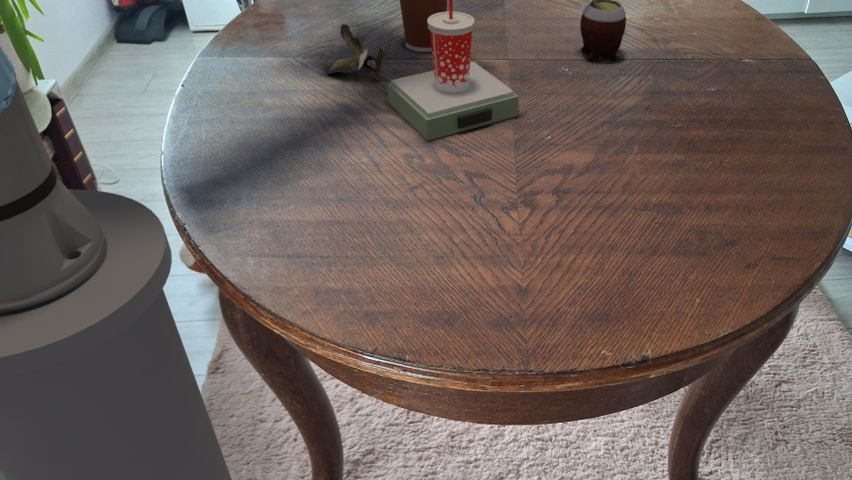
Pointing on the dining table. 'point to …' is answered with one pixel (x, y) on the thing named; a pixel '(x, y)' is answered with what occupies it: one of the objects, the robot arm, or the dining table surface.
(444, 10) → the coffee cup
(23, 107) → the robot arm
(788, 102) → the dining table surface
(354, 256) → the dining table surface
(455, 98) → the scale
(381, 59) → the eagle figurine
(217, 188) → the dining table surface
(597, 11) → the mate gourd
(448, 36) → the beverage cup
